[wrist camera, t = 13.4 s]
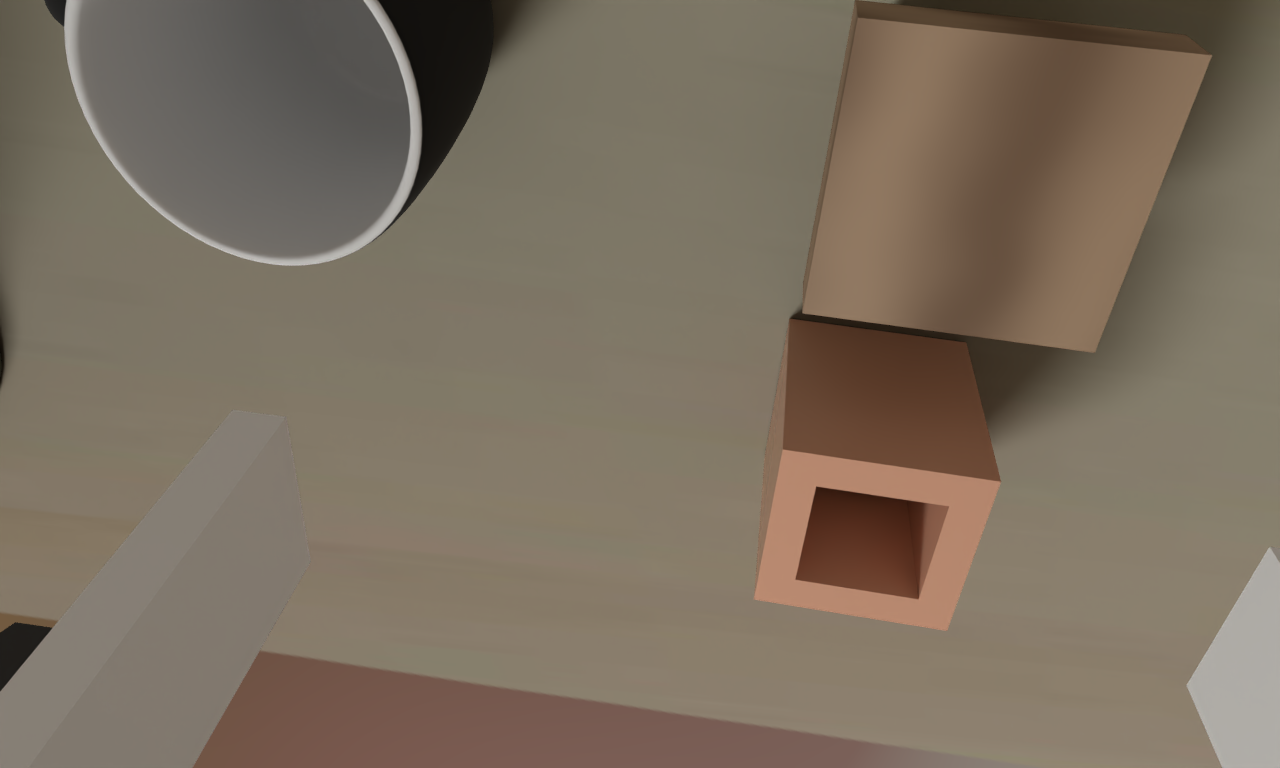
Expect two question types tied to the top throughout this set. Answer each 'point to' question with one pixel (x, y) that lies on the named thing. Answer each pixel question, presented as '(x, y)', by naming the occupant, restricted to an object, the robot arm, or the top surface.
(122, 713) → the robot arm
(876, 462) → the tan hollow square block
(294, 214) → the mug
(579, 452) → the top surface
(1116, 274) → the lid
